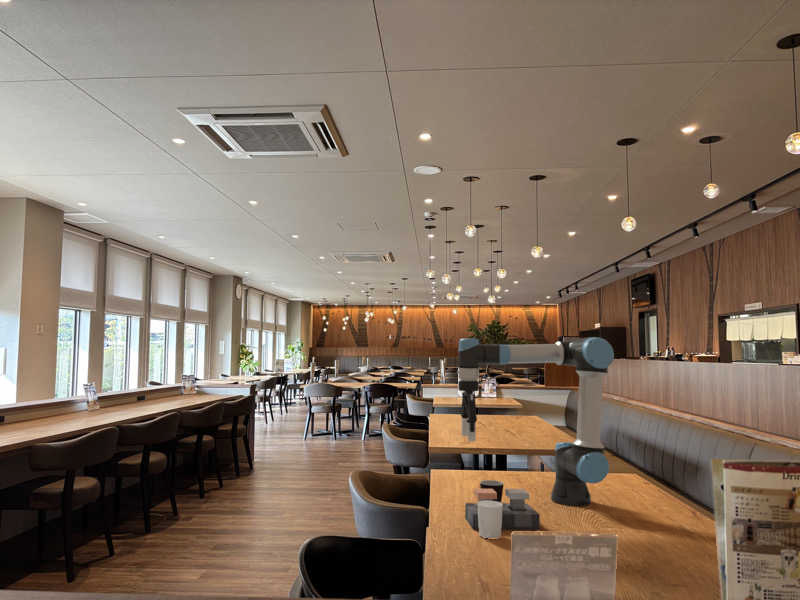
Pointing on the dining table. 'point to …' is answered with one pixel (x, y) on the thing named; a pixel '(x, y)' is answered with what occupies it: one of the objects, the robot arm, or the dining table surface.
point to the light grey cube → (517, 498)
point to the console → (507, 517)
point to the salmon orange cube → (485, 494)
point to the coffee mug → (494, 485)
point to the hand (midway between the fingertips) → (468, 438)
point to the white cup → (490, 519)
